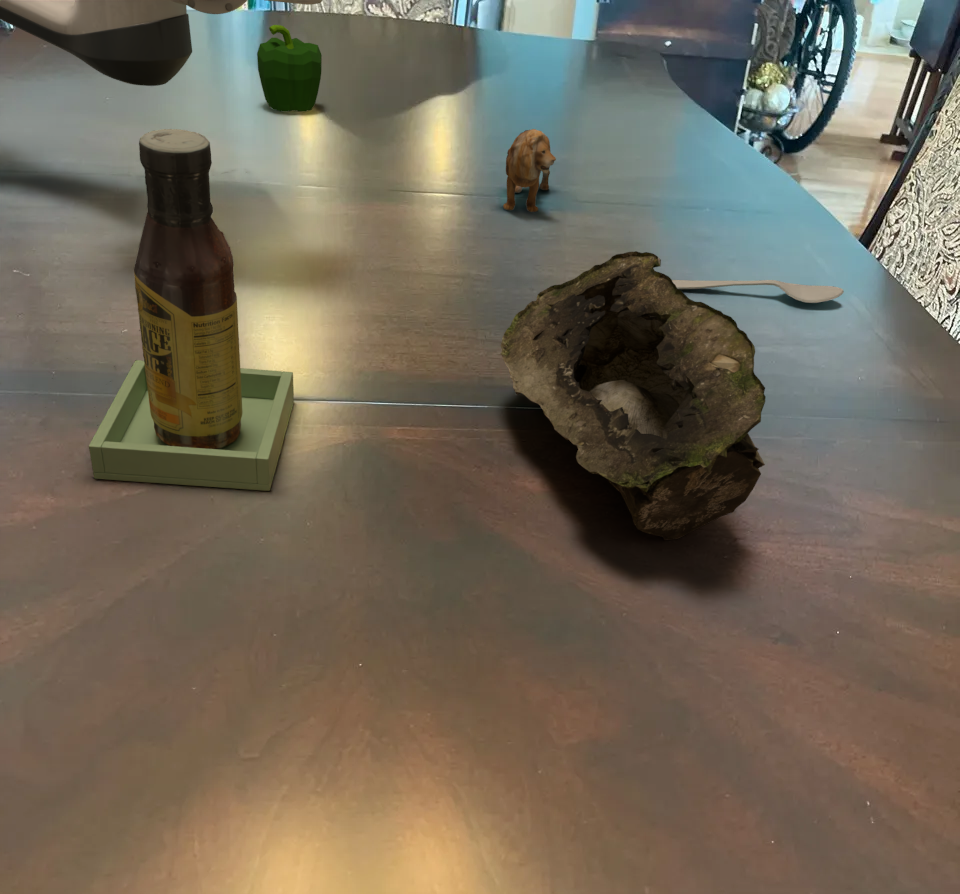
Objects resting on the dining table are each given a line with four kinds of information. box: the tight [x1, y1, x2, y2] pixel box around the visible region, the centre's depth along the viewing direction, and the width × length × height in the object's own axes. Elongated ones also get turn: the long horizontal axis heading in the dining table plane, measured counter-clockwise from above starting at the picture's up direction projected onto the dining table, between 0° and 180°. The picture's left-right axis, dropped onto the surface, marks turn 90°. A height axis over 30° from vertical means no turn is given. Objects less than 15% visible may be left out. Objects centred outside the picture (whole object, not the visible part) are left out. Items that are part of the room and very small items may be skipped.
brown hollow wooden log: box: [500, 250, 766, 541], centre depth 73 cm, size 28×13×15 cm
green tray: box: [88, 359, 295, 492], centre depth 74 cm, size 12×13×2 cm
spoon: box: [671, 279, 845, 304], centre depth 104 cm, size 4×21×2 cm, turn 87°
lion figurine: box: [502, 128, 557, 213], centre depth 118 cm, size 15×5×9 cm, turn 176°
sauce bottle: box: [133, 128, 242, 449], centre depth 68 cm, size 6×6×20 cm
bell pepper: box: [256, 24, 323, 113], centre depth 138 cm, size 8×8×10 cm
